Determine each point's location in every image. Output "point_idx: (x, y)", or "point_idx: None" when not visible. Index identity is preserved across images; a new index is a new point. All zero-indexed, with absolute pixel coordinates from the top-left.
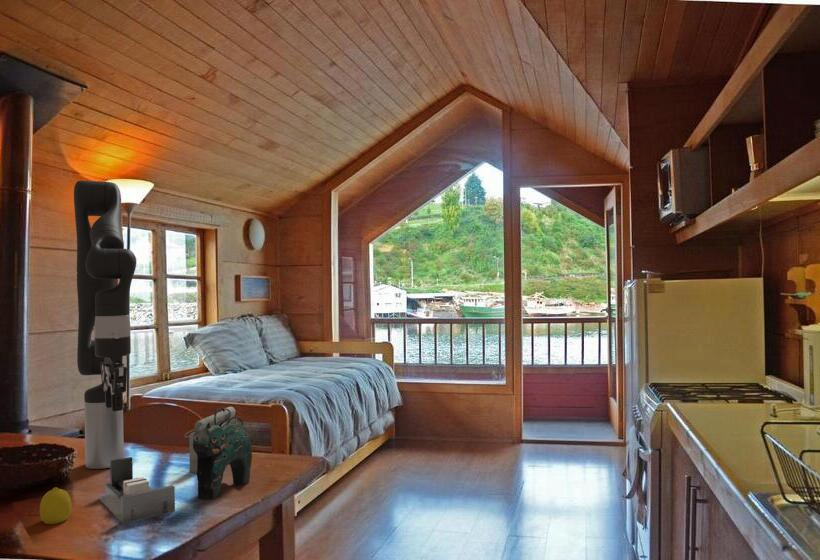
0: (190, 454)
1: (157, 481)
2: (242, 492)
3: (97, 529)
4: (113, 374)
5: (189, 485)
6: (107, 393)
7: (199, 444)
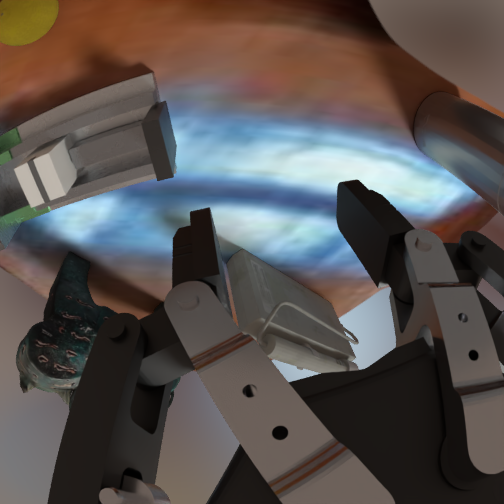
0: (248, 283)
1: (256, 193)
2: (114, 306)
3: (6, 96)
4: (227, 470)
5: None
6: (381, 238)
7: (22, 342)
